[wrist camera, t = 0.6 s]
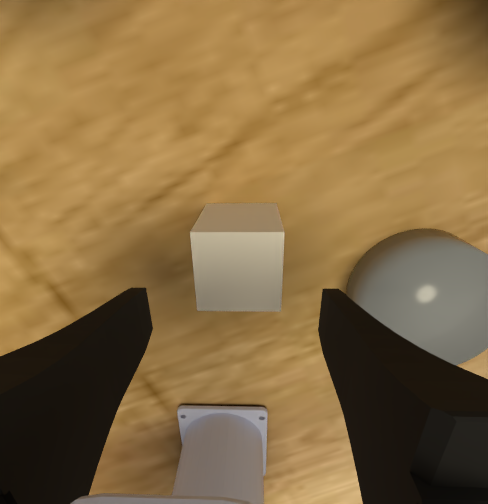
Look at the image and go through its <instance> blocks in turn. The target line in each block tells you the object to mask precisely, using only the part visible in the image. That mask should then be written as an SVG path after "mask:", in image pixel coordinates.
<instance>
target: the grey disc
mask: <svg viewBox="0 0 488 504" xmlns="http://www.w3.org/2000/svg"><path fill="white" fill-rule="evenodd" d="M346 295H347V296H348V297H349V298H350V299H352V300H353V301H354V302H355V303H356V304H358V305H359V306H360V307H361V308H363V309H364V310H365V311H366V312H368V313H369V314H370V315H372V316H373V317H374V318H375V319H377V320H378V321H380V322H381V323H382V324H384V325H385V326H387V327H388V328H390V329H391V330H392V331H394V332H395V333H397V334H398V335H400V336H402V337H403V338H405V339H407V340H408V341H410V342H412V343H413V344H415V345H417V346H418V347H420V348H422V349H424V350H426V351H427V352H429V353H431V354H433V355H435V356H437V357H439V358H441V359H443V360H445V361H447V362H449V363H451V364H453V365H458V364H461V363H463V362H466V361H468V360H470V359H472V358H474V357H475V356H477V355H479V354H480V353H482V352H483V351H485V350H486V349H487V348H488V254H486V253H484V252H483V251H481V250H479V249H477V248H476V247H474V246H472V245H471V244H469V243H467V242H465V241H464V240H462V239H460V238H459V237H457V236H455V235H453V234H451V233H448V232H445V231H442V230H436V229H414V230H408V231H404V232H401V233H398V234H395V235H393V236H390V237H388V238H386V239H384V240H383V241H381V242H379V243H378V244H376V245H375V246H373V247H372V248H371V249H370V250H369V251H368V252H366V253H365V254H364V256H363V257H362V258H361V259H360V260H359V261H358V263H357V264H356V266H355V267H354V269H353V271H352V273H351V275H350V278H349V281H348V285H347V293H346Z"/></svg>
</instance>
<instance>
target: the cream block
mask: <svg viewBox="0 0 488 504" xmlns="http://www.w3.org/2000/svg"><path fill="white" fill-rule="evenodd" d="M284 233H285V232H284V228H283V225H282V221H281V218H280V214H279V210H278V207H277V203H207V204H206V205H205V207H204V209H203V211H202V212H201V214H200V216H199V217H198V219H197V221H196V223H195V224H194V226H193V228H192V230H191V231H190V238H191V249H192V260H193V271H194V282H195V292H196V303H197V311H281V300H282V278H283V255H284Z"/></svg>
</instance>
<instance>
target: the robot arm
mask: <svg viewBox="0 0 488 504" xmlns="http://www.w3.org/2000/svg"><path fill="white" fill-rule="evenodd" d="M152 329H153V327H152V321H151V315H150V309H149V303H148V297H147V292H146V288H130V289H128V290H126V291H124V292H123V293H121V294H119V295H118V296H116V297H114V298H113V299H111V300H110V301H108V302H107V303H105V304H103V305H102V306H100V307H99V308H97V309H95V310H94V311H92V312H91V313H89V314H87V315H85V316H84V317H82V318H80V319H79V320H77V321H75V322H73V323H72V324H70V325H68V326H66V327H65V328H63V329H61V330H59V331H57V332H55V333H53V334H51V335H49V336H47V337H45V338H43V339H41V340H39V341H36V342H34V343H32V344H30V345H27V346H25V347H22V348H20V349H17V350H15V351H13V352H10V353H8V354H5V355H3V356H0V504H264V482H263V476H264V475H265V474H266V449H267V409H266V408H264V407H244V406H191V405H182V406H179V407H178V410H177V414H178V421H179V427H180V434H181V441H182V451H181V455H180V460H179V465H178V469H177V474H176V478H175V483H174V487H173V492H172V495H144V494H110V493H103V494H96V495H89V491H90V488H91V485H92V482H93V479H94V475H95V472H96V469H97V466H98V463H99V460H100V457H101V454H102V451H103V448H104V445H105V442H106V440H107V437H108V434H109V431H110V428H111V426H112V423H113V420H114V418H115V415H116V412H117V410H118V407H119V405H120V403H121V401H122V398H123V396H124V394H125V392H126V390H127V388H128V386H129V384H130V382H131V380H132V378H133V376H134V374H135V372H136V370H137V368H138V366H139V364H140V361H141V359H142V357H143V355H144V353H145V351H146V348H147V345H148V342H149V339H150V336H151V333H152ZM318 331H319V337H320V342H321V347H322V351H323V355H324V358H325V361H326V364H327V367H328V370H329V372H330V375H331V378H332V381H333V384H334V387H335V390H336V393H337V396H338V398H339V401H340V404H341V408H342V411H343V414H344V418H345V423H346V427H347V431H348V435H349V439H350V444H351V448H352V453H353V457H354V462H355V467H356V471H357V476H358V481H359V486H360V491H361V496H362V501H363V504H488V379H486V378H484V377H481V376H479V375H476V374H474V373H472V372H469V371H467V370H465V369H462V368H460V367H458V366H456V365H453V364H451V363H449V362H447V361H445V360H443V359H441V358H439V357H437V356H435V355H433V354H431V353H429V352H427V351H426V350H424V349H422V348H420V347H418V346H417V345H415V344H413V343H412V342H410V341H408V340H407V339H405V338H403V337H402V336H400V335H398V334H397V333H395V332H394V331H392V330H391V329H390V328H388V327H387V326H385V325H384V324H382V323H381V322H380V321H378V320H377V319H375V318H374V317H373V316H372V315H370V314H369V313H368V312H366V311H365V310H364V309H363V308H361V307H360V306H359V305H358V304H356V303H355V302H354V301H353V300H352V299H350V298H349V297H348V296H347V295H346V294H344V293H343V292H342V291H340V290H339V289H323V292H322V301H321V310H320V319H319V328H318ZM88 495H89V496H88Z"/></svg>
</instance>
